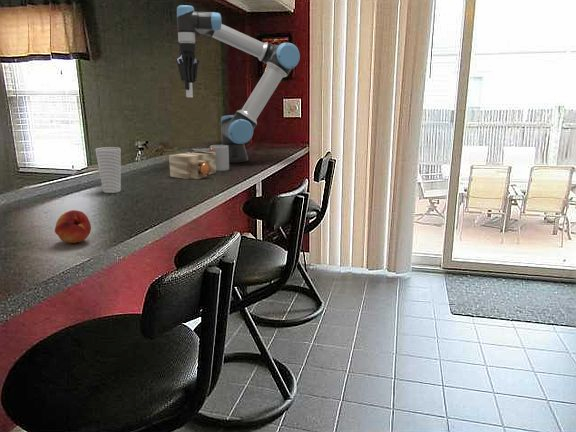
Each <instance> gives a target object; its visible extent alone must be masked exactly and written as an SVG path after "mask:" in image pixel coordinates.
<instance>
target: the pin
mask: <svg viewBox="0 0 576 432" xmlns="http://www.w3.org/2000/svg"><path fill="white" fill-rule="evenodd" d="M198 171H200V173H201V174H203V175H206V176H207V175H210V174H209V173H210V171H211V166H210V164H208V163H202V164H201V165H198Z"/></svg>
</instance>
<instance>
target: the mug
mask: <svg viewBox="0 0 576 432" xmlns="http://www.w3.org/2000/svg"><path fill="white" fill-rule="evenodd" d="M209 148H215V150H213V151H204V152H215V153H216V172H226V171H230V162H229V148H228V145H222V144H213V145H210V146H209Z"/></svg>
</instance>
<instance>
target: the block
mask: <svg viewBox="0 0 576 432" xmlns="http://www.w3.org/2000/svg"><path fill="white" fill-rule="evenodd" d="M192 149H193V148H188V152H183V153H182V152H181V153H176V154H170V155H168V159H169V160H168V162H169V175H170V176H169V177H171V178H177V179H179V178H180V179H185V180H188V179H195V180H198V179H199V180H200V179H204V178H207V175H203V174H201V173H200V171H198V165H201V164H202V163H208V164H210V166H211V171H210V173H209V174H208V175H212V174H216V173H217V171H216V153H215V152H204V151H197V152H193V151H192ZM198 149H203V147H202V146H198Z"/></svg>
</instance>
